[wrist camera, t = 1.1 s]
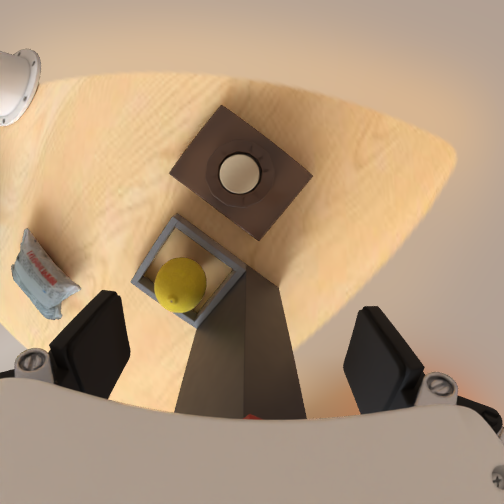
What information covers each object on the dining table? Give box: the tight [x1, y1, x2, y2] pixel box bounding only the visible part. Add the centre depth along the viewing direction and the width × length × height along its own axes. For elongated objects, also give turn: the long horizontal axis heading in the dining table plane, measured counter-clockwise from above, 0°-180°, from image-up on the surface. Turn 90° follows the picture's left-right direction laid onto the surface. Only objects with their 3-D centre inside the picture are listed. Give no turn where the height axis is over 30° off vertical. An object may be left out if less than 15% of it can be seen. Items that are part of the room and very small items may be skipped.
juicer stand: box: [131, 213, 307, 420], centre depth 22 cm, size 16×11×25 cm
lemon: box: [154, 257, 206, 313], centre depth 30 cm, size 6×6×8 cm
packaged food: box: [11, 228, 81, 320], centre depth 31 cm, size 9×12×5 cm
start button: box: [220, 154, 259, 194], centre depth 26 cm, size 4×4×2 cm
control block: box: [169, 105, 313, 241], centre depth 28 cm, size 12×9×4 cm
